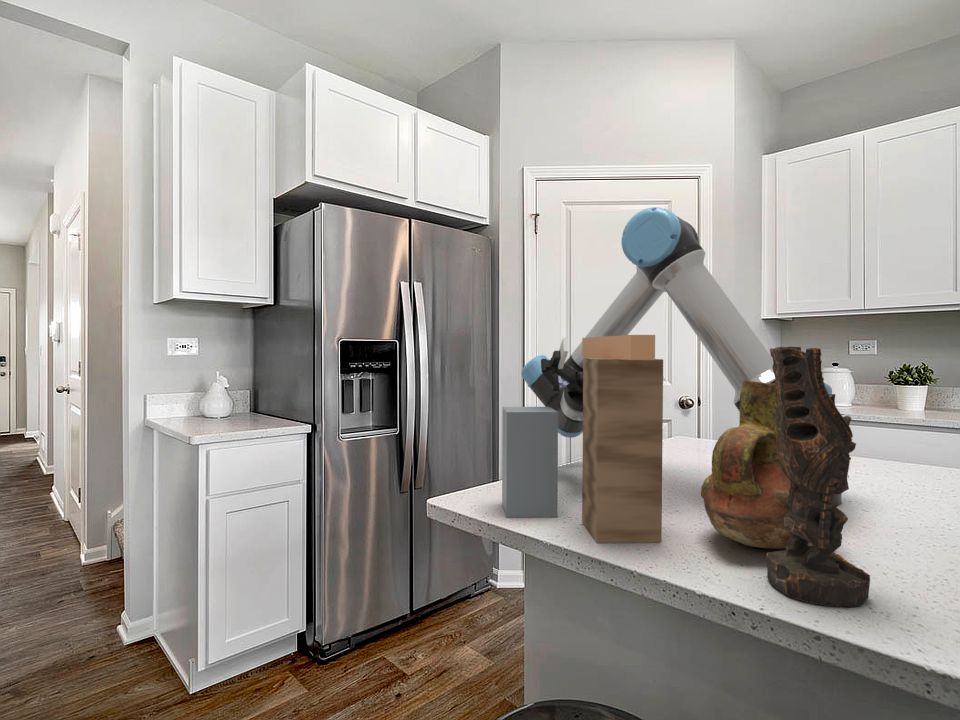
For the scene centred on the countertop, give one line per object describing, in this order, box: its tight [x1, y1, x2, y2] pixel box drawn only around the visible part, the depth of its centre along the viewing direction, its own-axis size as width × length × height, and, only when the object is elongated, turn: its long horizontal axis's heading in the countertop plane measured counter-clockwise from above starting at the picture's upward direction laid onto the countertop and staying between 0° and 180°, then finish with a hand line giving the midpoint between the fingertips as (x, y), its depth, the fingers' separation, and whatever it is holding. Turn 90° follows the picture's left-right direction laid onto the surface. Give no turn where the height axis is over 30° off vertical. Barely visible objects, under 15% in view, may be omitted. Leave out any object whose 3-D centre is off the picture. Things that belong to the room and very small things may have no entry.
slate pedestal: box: [501, 406, 559, 519], centre depth 104 cm, size 9×9×18 cm
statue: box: [765, 346, 871, 608], centre depth 70 cm, size 10×10×30 cm
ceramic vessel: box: [700, 380, 830, 550], centre depth 87 cm, size 17×26×25 cm, turn 131°
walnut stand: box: [581, 358, 664, 544], centre depth 91 cm, size 10×10×28 cm
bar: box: [581, 334, 656, 360], centre depth 94 cm, size 25×4×4 cm, turn 6°
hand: (604, 344), depth 100 cm, fingers open, 13 cm apart
